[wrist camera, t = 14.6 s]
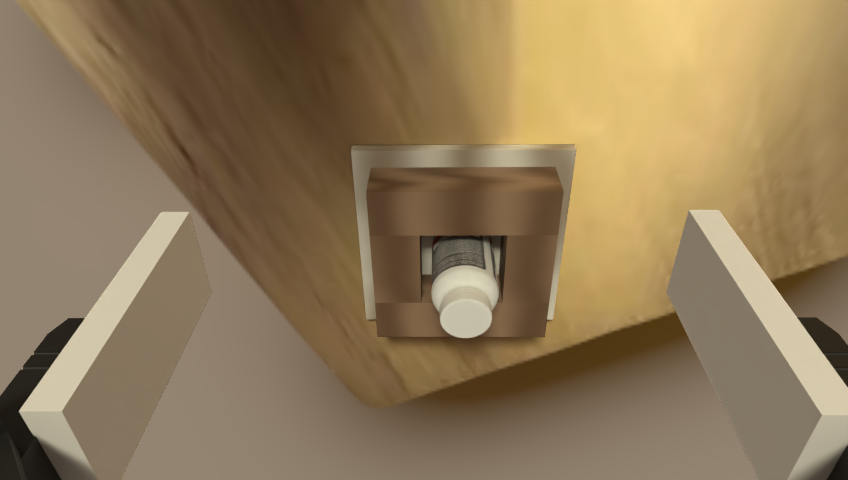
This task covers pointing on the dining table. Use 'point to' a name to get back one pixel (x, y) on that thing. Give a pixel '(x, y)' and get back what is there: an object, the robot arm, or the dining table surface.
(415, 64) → the dining table surface
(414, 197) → the socket block
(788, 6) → the dining table surface
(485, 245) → the pill bottle
